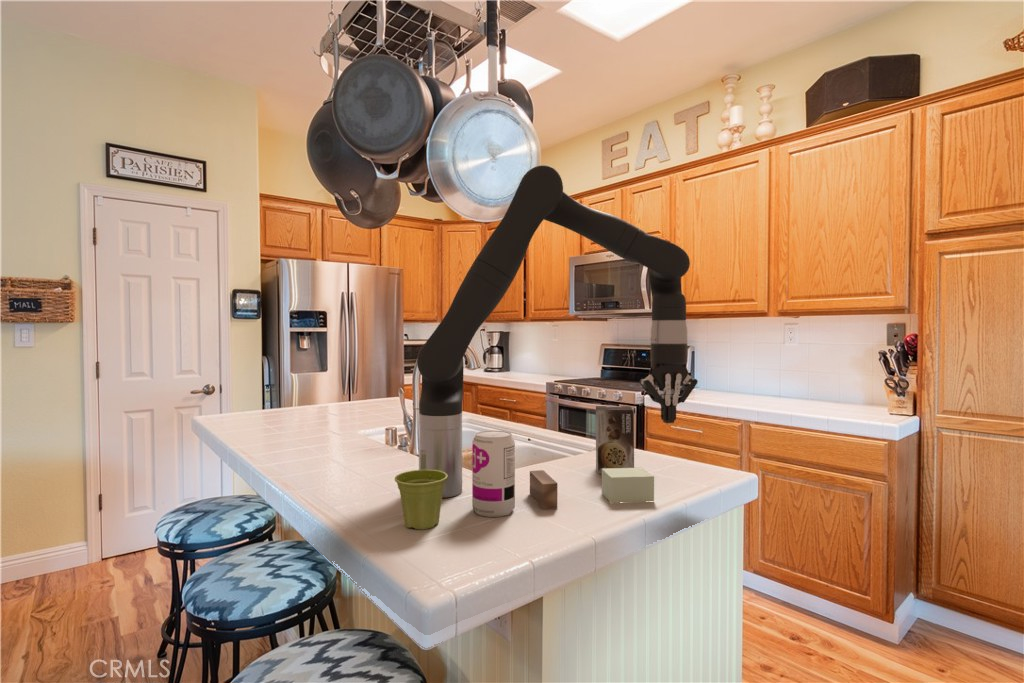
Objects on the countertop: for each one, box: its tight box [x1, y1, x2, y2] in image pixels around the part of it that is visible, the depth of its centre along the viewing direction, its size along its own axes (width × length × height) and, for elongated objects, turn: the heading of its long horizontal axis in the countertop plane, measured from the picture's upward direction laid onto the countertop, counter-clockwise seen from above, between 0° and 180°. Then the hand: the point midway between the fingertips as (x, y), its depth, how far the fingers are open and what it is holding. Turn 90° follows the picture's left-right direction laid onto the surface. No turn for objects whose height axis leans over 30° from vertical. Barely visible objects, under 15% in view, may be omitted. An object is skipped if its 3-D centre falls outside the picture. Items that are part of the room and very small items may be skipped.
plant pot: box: [394, 469, 448, 530], centre depth 93 cm, size 9×9×9 cm
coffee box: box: [595, 405, 635, 475], centre depth 129 cm, size 9×6×16 cm
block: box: [601, 467, 655, 504], centre depth 108 cm, size 9×7×6 cm
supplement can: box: [471, 429, 516, 518], centre depth 99 cm, size 8×8×15 cm
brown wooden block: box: [529, 469, 558, 510], centre depth 105 cm, size 3×10×5 cm, turn 13°
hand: (668, 422), depth 110 cm, fingers closed
